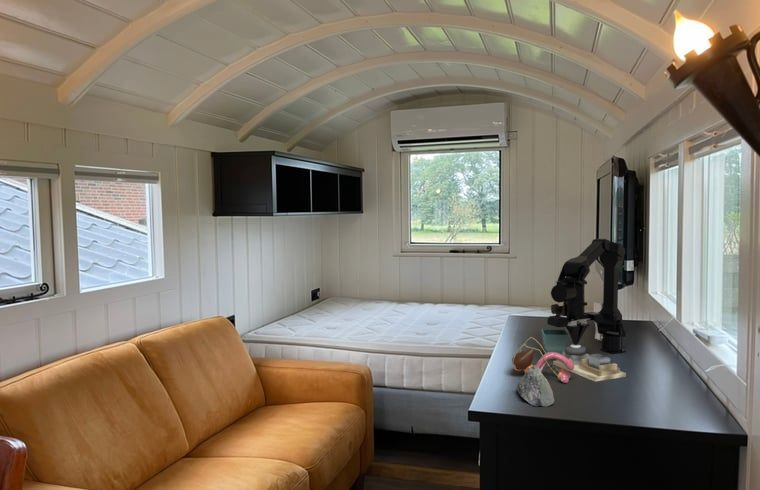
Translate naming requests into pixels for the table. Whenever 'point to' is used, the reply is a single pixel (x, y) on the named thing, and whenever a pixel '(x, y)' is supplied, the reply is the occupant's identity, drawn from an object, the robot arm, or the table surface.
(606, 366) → the chassis board
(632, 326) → the table surface
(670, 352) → the table surface
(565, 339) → the flower pot
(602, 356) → the brushed metal cube
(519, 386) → the mineral rock
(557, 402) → the table surface
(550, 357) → the anatomy model
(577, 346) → the grey rounded knob
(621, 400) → the table surface
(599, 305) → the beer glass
